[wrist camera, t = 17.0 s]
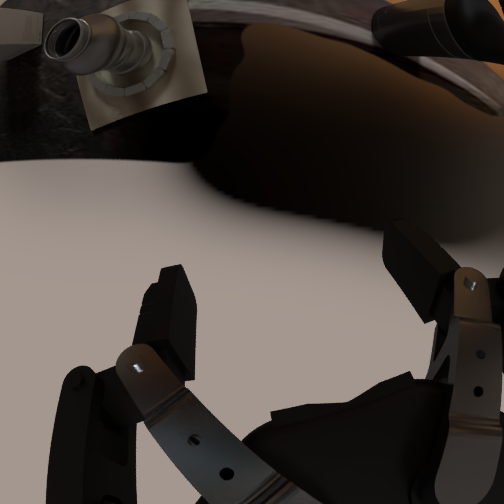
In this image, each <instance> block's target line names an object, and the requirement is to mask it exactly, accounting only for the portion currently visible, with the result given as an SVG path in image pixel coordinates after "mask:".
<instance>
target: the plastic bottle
mask: <svg viewBox="0 0 504 504" xmlns="http://www.w3.org/2000/svg"><path fill="white" fill-rule="evenodd" d="M44 51H45V54H46V55H47V56H48V57H49V58H50V59H53V60H58V61H59V63H60V65H61V66H62V67H63V69H64V70H66V71H67V72H69V73H70V74H73V75H78V76H83V75H89V74H93V73H96V72H99V71H105V70H106V71H109V72H110V73H113V74H115V75H120V76H125V75H130V74H133V73H135V72H137V71H139V70H140V69H142V68H143V67H144V66H145V65H146V64H147V63H148V61H149V59H150V57H151V55H152V44H151V41H150V39H149V38H148V36H147V35H146V34H144V33H142V32H139V31H134V30H126V29H124V28H123V27H122V26H121V25H120V24H119V22H118V21H117V20H115V19H114V18H113V17H111V16H109V15H106V14H92V15H87V16H85V17H82V18H80V19H76V18H65V19H63V20H61V21H59V22H57V23H56V24H55V25H54V26H53V27H52V28H51V29H50V31H49V32H48V34H47V36H46V38H45V41H44Z"/></svg>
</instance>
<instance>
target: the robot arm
mask: <svg viewBox="0 0 504 504" xmlns="http://www.w3.org/2000/svg"><path fill="white" fill-rule="evenodd" d="M499 3H500V5H501V7H502V11H503V14H504V0H499ZM372 29H373V33H374V35H375V37H376V39H377V41H378V42H379V44H380V45H381V46H382V47H383V48H384V49H385V50H387V51H388V52H390V53H392V54H394V55H397V56H425V57H447V58H460V59H470V60H478V61H485V62H491V63H497V64H502V65H504V21H503V19H502V18H501V16H500V15H499V13H498V12H497V10H496V9H495V8H494V7H493V5H492V4H491V3H490V2H489V1H488V0H407V1H403V2H400V3H396V4H392V5H389V6H386V7H382V8H380V9H378V10H377V11H376V12H375V13H374V16H373V18H372ZM382 257H383V262H384V265H385V267H386V269H387V270H388V271H389V273H390V274H391V276H392V277H393V278H394V280H395V281H396V282H397V284H398V285H399V287H400V288H401V289H402V291H403V292H404V294H405V295H406V297H407V298H408V300H409V301H410V303H411V304H412V306H413V307H414V308H415V310H416V312H417V313H418V315H419V316H420V318H421V319H422V321H423V322H424V324H425V323H428V322H430V321H433V320H435V321H436V322H437V325H436V327H435V332H434V340H433V347H432V354H431V360H430V365H429V369H428V373H427V375H426V378H425V379H414V378H413V376H412V374H411V372H410V371H409V372H406V373H404V374H401V375H399V376H396V377H393V378H391V379H388V380H385V381H383V382H380V383H378V384H377V385H375V386H373V387H372V388H370V389H369V390H367V391H365V392H364V393H362V394H361V395H359V396H357V397H356V398H354V399H352V400H350V401H349V402H344V403H325V404H324V403H323V404H305V405H300V406H296V407H291V408H287V409H282V410H277V411H272V412H271V418H272V420H271V421H269V422H267V423H265V424H263V425H262V426H259V427H258V428H256V429H255V430H253V431H252V432H251V433H249V434H248V435H247V436H246V437H245V438H244V439H243V440H242V441H240V440H239V439H238V438H237V437H236V436H235V435H234V434H232V433H231V432H230V431H229V430H228V429H227V428H226V427H225V426H224V425H223V424H222V423H221V422H220V421H219V420H218V419H217V418H216V417H215V416H214V415H213V414H212V413H211V412H210V411H209V410H208V409H207V408H206V407H205V406H204V405H203V404H202V403H201V402H200V401H199V400H198V399H197V398H196V397H195V395H194V394H193V393H192V392H191V391H190V390H189V389H188V388H186V387H185V381H191V380H195V347H196V320H197V304H196V299H195V296H194V293H193V290H192V288H191V286H190V283H189V281H188V279H187V276H186V274H185V271H184V268H183V267H182V265H181V264H179V265H174V266H170V267H165V268H162V269H161V271H160V276H159V279H158V282H157V283H153V284H151V285H150V287H149V288H148V289H147V291H146V292H145V294H144V297H143V301H142V306H141V309H140V315H139V317H138V322H137V326H136V330H135V334H134V339H133V343H132V346H130V347H128V348H127V349H126V350H124V351H123V352H122V353H121V354H120V356H119V357H118V359H117V362H116V366H114V367H111V368H109V369H106V370H104V371H101V372H98V373H95V372H94V371H93V370H92V369H91V368H90V367H88V366H78V367H76V368H74V369H73V370H71V371H70V372H69V373H68V374H67V376H66V377H65V379H64V381H63V385H62V389H61V393H60V397H59V402H58V407H57V412H56V417H55V423H54V429H53V434H52V441H51V447H50V455H49V464H48V474H47V489H46V504H137V492H136V426H137V423H139V422H141V421H144V424H145V425H146V427H147V429H148V430H149V432H150V433H151V434H152V436H153V437H154V438H155V440H156V441H157V443H158V444H159V445H160V447H161V448H162V449H163V450H164V452H165V453H166V454H167V456H168V457H169V458H170V460H171V461H172V462H173V463H174V464H175V466H176V467H177V468H178V469H179V470H180V472H181V473H182V474H183V475H184V476H185V478H186V479H187V480H188V481H189V482H190V483H191V484H192V486H193V487H194V488H195V489H196V490H197V491H198V492H199V493H200V494H201V495H202V496H201V497H200V498H199V499H198V501H197V502H196V504H504V413H503V412H501V411H500V406H501V393H502V372H503V373H504V268H503V269H502V272H501V274H500V277H499V278H488V279H487V278H486V277H485V276H484V275H483V274H482V273H481V272H480V271H478V270H476V269H474V268H470V267H462V268H461V267H460V266H459V265H458V263H457V262H456V261H455V260H454V259H453V258H452V257H451V256H450V255H449V254H448V253H447V252H446V251H445V250H444V249H443V248H441V247H440V245H439V244H438V243H437V242H435V241H434V239H433V238H432V237H431V236H430V235H429V234H428V233H427V232H425V231H423V230H421V229H419V228H417V227H414V226H413V225H412V224H411V223H410V222H409V221H407V220H406V219H405V218H398V219H393V220H389V221H386V223H385V227H384V239H383V251H382Z"/></svg>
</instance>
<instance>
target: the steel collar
mask: <svg viewBox="0 0 504 504" xmlns="http://www.w3.org/2000/svg"><path fill="white" fill-rule="evenodd" d="M113 18H114V19H115V20H117V21H118V22H119V24H120V25H121V26H125V25H127V24H130V23H133V22H139V23H148V24H152V25H153V26H154V27H156V28H157V29H158V30H159V31H160V33H161V37H162V42H163V46H164V50H163V53H162V56H161V59H160V62H159V64H158V67H157V68H156V69H155V70H154V71H153V72H152V73H151V74H150V75H149V76H148V77H147V78H146V79H145V80H144V81H143V82H141V83H138V84H135V85H132V86H130V87H120V86H113V85H112V84H111V83H110V82H109V81H108V80H107V79H105V78H104V77H103V76H102V75H101V71H99V72H96V73H93V74H89V75H87V79H90V80H89V82H90V83H91V84H92V85H93V86H95V87H96V88H97V89H98V90H99V91H100V92H101V93H104V94H106V95H113V96H120V97H127V96H132V95H135V94H137V93H140V92H143V91H146V90H149V89H150V88H153V87H154V86H155V85H156V84H157V83H158V82H159V81H160V80H161V79H162V78H163V77H164V76H165V75H166V74H167V73H168V72H167V71H166V70H168V71H169V70H170V67H171V64H172V61H173V58H174V55H175V53H176V51H175V50H176V46H175V42H174V37H173V33H172V30H171V29H170V28H169V27H168V26H167V25H166V24H165V23H164V22H163V21H161V20H160V19H159V18H158V17H157V16H156V15H154V14H152V13H147V12H137V11H131V12H129V11H128V12H126V13H123V14H121V15H118V16H116V17H113Z"/></svg>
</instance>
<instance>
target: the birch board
mask: <svg viewBox="0 0 504 504" xmlns="http://www.w3.org/2000/svg"><path fill="white" fill-rule="evenodd" d="M128 11H129V12H131V11H137V12H147V13H152V14H154V15H156V16H157V17H158V18H159V19H160V20H161V21H163V22H164V23H165V24H166V25H167V26H168V27H169V28H170V29H171V30H172V33H173V37H174V42H175V46H176V50H175V51H176V53H175V55H174V58H173V61H172V64H171V67H170V70H169V71H168V70H166V71H167V72H168V73H167V74H166V75H165V76H164V77H163V78H162V79H161V80H160V81H159V82H158V83H157V84H156V85H155V86H154V87H153V88H150V89H149V90H146V91H143V92H140V93H137V94H135V95H132V96H127V97H120V96H113V95H106V94H104V93H101V92H100V91H99V90H98V89H97V88H96V87H95V86H93V85H92V84H91V83H90V82H89V80H90V79H87V75H83V76H78V75H76V76H77V81H78V85H79V89H80V93H81V97H82V100H83V104H84V108H85V111H86V115H87V119H88V122H89V125H90V129H91V131H92V130H94V129H97V128H99V127H101V126H104V125H106V124H109V123H111V122H114V121H116V120H119V119H122V118H124V117H127V116H130V115H133V114H135V113H138V112H141V111H144V110H147V109H150V108H153V107H156V106H160V105H163V104H166V103H170V102H173V101H177V100H180V99H184V98H187V97H191V96H195V95H199V94H203V93H207V87H206V83H205V78H204V74H203V70H202V65H201V61H200V56H199V52H198V47H197V43H196V38H195V34H194V29H193V25H192V20H191V16H190V11H189V7H188V2H187V0H130V1H128V2H125V3H122V4H120V5H117V6H115V7H113V8H110V9H108V10H106V11H103V12H101V13H99V14H106V15H109V16H111V17H116V16H118V15H121V14H123V13H126V12H128ZM122 27H123V28H124V29H126V30H134V31H139V32H142V33H144V34H146V35H147V36H148V38H149V39H150V41H151V44H152V55H151V57H150V59H149V61H148V63H147V64H146V65H145V66H144V67H143V68H142V69H140V70H139V71H137V72H135V73H133V74H130V75H125V76H120V75H115V74H113V73H110V72H109V71H106V70H105V71H101V75H102V76H103V77H104V78H105V79H107V80H108V81H109V82H110V83H111V84H112V85H113V86H120V87H130V86H132V85H135V84H138V83H141V82H143V81H144V80H145V79H146V78H147V77H148V76H149V75H150V74H151V73H152V72H153V71H154V70H155V69H156V68H157V67H158V64H159V62H160V59H161V56H162V53H163V50H164V46H163V42H162V37H161V33H160V31H159V30H158V29H157V28H156V27H154V26H153V25H152V24H148V23H139V22H133V23H130V24H127V25H125V26H122Z"/></svg>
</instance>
